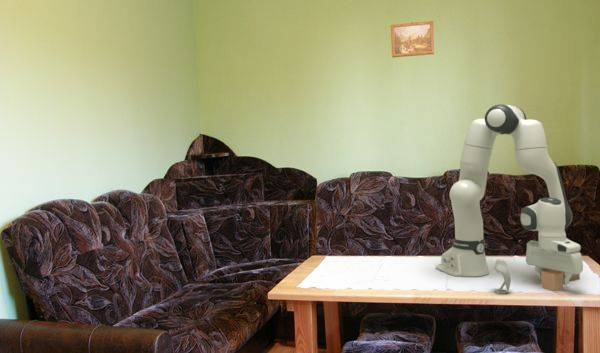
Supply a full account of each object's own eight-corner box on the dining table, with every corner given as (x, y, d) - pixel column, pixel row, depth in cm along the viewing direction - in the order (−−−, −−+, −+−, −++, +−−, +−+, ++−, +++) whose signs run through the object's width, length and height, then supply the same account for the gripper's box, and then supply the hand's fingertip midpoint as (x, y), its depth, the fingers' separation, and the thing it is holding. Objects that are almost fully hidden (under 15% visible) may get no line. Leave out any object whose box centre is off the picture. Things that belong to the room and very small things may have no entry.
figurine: (512, 295, 168) (511, 261, 168) (496, 295, 170) (495, 261, 169) (509, 289, 176) (508, 256, 175) (493, 288, 177) (492, 256, 176)
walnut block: (540, 279, 187) (540, 266, 187) (557, 275, 191) (557, 262, 191) (562, 284, 179) (562, 271, 179) (579, 280, 183) (579, 266, 183)
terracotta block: (541, 288, 175) (541, 271, 175) (550, 285, 177) (550, 269, 177) (554, 291, 171) (553, 274, 170) (563, 289, 173) (563, 272, 173)
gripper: (521, 240, 181) (522, 277, 182) (573, 248, 163) (574, 289, 164) (532, 238, 184) (533, 274, 185) (585, 246, 166) (586, 286, 166)
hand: (553, 281), depth 174 cm, fingers open, 8 cm apart
